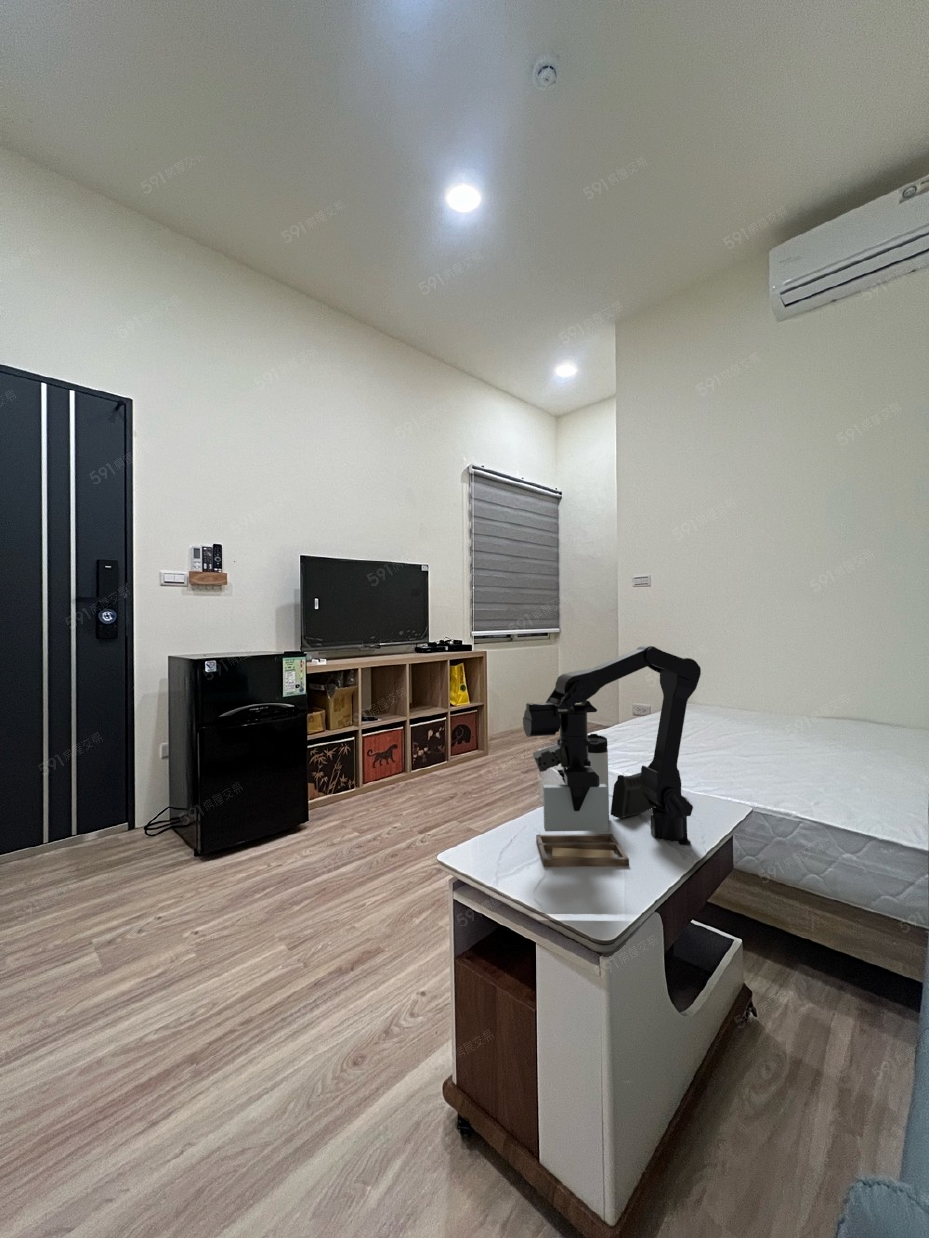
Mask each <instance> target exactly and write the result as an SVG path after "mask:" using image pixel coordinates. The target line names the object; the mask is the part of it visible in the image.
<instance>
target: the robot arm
mask: <svg viewBox="0 0 929 1238" xmlns="http://www.w3.org/2000/svg"><path fill="white" fill-rule="evenodd" d="M645 668H648V669H649V670H650V669H651V671H654V672H656V673H658V674H659V685H660V688H661V691H662V696H663V698H662V705H661V709H660V710H661V711H660V717H659V723H658V729H657V736H656V740H655V741H656V742H655V747H654V754H653V758H652V761H651V762H650V764H648V766H646V765H642V766H641V768H640V773H641V777H640V780H639V782H638V783H639V784H641V792H642V793H643V795H644V796H645V797H646V798H647V800H648V802H649V805H651V806H653V807H654V808H652V814H651V815H650V820H649V821H650V834H651V836H652V837H654V839H656V840H657V839H658V840H664V841H667V842H677V843H678V844H679V845H684V846H685V845H689V846H690V845H691V844H692V843H691V840H689V839H688V818H687V817H691V815H692V813H693V812H692V811H693V809H694V806H693V804H691V803H690V802H689V801H688V800H687V799H686V798H685V797H684V796H683V795H682V779H681V775H679V773H680V771H679V772H678V770H679V769H678V760H679V755H680V750H681V749H680V748H681V743H682V738H683V737H682V736H683V729H684V723H685V716H686V711H687V705H688V700H689V699H690V697H691V696H692V695H693V694H694V692H695V691H696V690H697V687H698V685H699V681H700V678H701V674H702V672H701V671H702V669H701V666H700V665H699V663H698V662H697V661H696V660H695V659H692V658H690V657H689V658H688V657H680V656H676V655H675V654H673V653H672V654H671V653H669V652H666V651H664V650H661V649H659V648H658V647H656V646H651V645H640V646H638V647H637V648H636V649H634V650H631V651H629V652H627V653H624V654H622V655H620V656H618V657H615V658H613V659H610V660H608V661H606V662H603V663H602V664H599V665H597V666H594V667H592V668H591V667H590V668H587V669H581V670H575V671H570V672H565V673H563V674H561V675H559V676H558V677H557V679H556V681H555V686H554V687H555V688H554V689H553V690H552V692H551V693H550V695H549V697H548V698H547V699H546V701H545V702H544V703H543V702H541V703H534V702H527V703H526V704H525V706H526V707H525V709H524V713H523V717H522V725H523V731H524V734H525V736H526V737H528V738H529V737H546V736H547V737H548V736H555V735H556V734H557V733H559V736H558V738H556V744H553V745H550V746H547V747H544V748H542V749H539V750H537V751H535V752H533V753H532V756H533V758H534V761H535V763H536V767H537V769H538V771H539V772H540V773H543V772H546V771H547V770H549V769H550V768H551V769H552V768H555V767H558V766H559V765H560V767H561V768H560V769H558V770H557V773H558V774H559V776H561V779H562V782H563V783H564V785H565V784H566V785H567V787H569V788H570V793H571V799H572V804H573V809H574V811H580V808H581V806H582V804H583V802H584V799H585V797H586V795H587V793H588V791H589V789H590V787H599V786H600V784H599V776H598V774H597V773H596V772H595V771H594V770H593V769H592V768H591V767H584V766H591V761H590V760H589V759H588V746H590V741H589V740H588V735H589V732H588V731H589V730H588V729H589V728H588V713H597V712H598V708H596V707H595V706H594V705H593V704H592V703H591V701H590V700H589V699H590V698H591V697H593V696H595V695H596V694H597V693H598V692H599V691H600V689H602V688H603V687H605V686H606V685H609V684H610V683H613V682H615V681H617V680H620V679H622V678H624V677H626V676H628V675H631V674H633V673H636V672H638V671H640V670H643V669H645Z"/></svg>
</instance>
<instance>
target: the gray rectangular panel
mask: <svg viewBox="0 0 929 1238" xmlns="http://www.w3.org/2000/svg"><path fill="white" fill-rule="evenodd" d="M542 797H543V798H542V799H543V801H542V803H543V804H542V805H543V828H544V832H592V831H593V832H601V831H602V832H606V831H607V832H608V831H609V820H608V799H607V786H606V785H605V784H600V786H599V787H590V789H589V791H588V793H587V795H586V797H585V799H584V802H583V804H582V806H581V808H580V811H574V809H573V804H572V799H571V793H570V788H569V787H567V785H566V784H565V783H564V784H543V785H542Z"/></svg>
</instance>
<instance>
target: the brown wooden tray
mask: <svg viewBox="0 0 929 1238" xmlns="http://www.w3.org/2000/svg"><path fill="white" fill-rule="evenodd" d="M535 839H536V844H537V848H538V851H539V855H540V859H541V863H542V865H543V868H555V867H558V868H559V867H560V868H565V867H566V868H567V867H570V868H571V867H574V868H575V867H576V868H577V867H581V868H582V867H630V858H629V857H628V855H627V854H626V852H625V851H624V849H623V848H622V846H621V845H620V843H619V842H618V840H617V839H616V837H615V836H614V834H613V833H591V834H590V833H587V834H585V833H584V834H582V833H581V834H578V833H577V834H575V833H574V834H571V833H570V834H536V837H535ZM552 847H553V848H573V849H593V850H613V851H614V852H615V854H616V855H618V857H617V856H615V857H600V858H550V857H548V856H547V854H546V853H547V852H552Z"/></svg>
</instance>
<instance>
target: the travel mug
mask: <svg viewBox="0 0 929 1238" xmlns="http://www.w3.org/2000/svg"><path fill="white" fill-rule="evenodd" d="M588 740H589V741H590V746H588V759H589V760H590V761H591V766H584V767H591V768H592V769H593V770H594V771H595V772H596V773H597V774H598V776H599V784H605V785H606V786H607V799H608V821H609V820H610V798H609V797H610V796H609V795H610V793H609V791H610V790H609V789H610V788H609V754H608V753H609V751H608V738H607V737H605V736H604V735H599V734H598V733H590V734H588Z"/></svg>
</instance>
